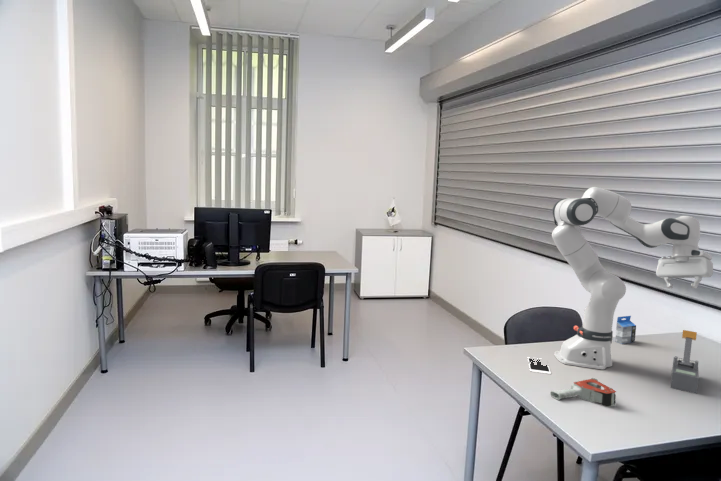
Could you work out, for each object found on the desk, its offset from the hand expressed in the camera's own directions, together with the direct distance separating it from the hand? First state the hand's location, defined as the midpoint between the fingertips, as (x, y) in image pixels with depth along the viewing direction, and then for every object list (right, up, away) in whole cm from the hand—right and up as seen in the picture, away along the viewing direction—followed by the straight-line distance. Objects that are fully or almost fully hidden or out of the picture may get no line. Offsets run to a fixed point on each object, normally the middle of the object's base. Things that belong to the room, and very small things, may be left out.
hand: (681, 288), depth 189 cm
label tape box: (-1, -30, +38) cm, 49 cm away
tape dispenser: (-50, -37, -23) cm, 66 cm away
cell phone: (-56, -33, +4) cm, 65 cm away
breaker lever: (-3, -28, -8) cm, 30 cm away
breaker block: (-4, -36, -7) cm, 36 cm away
